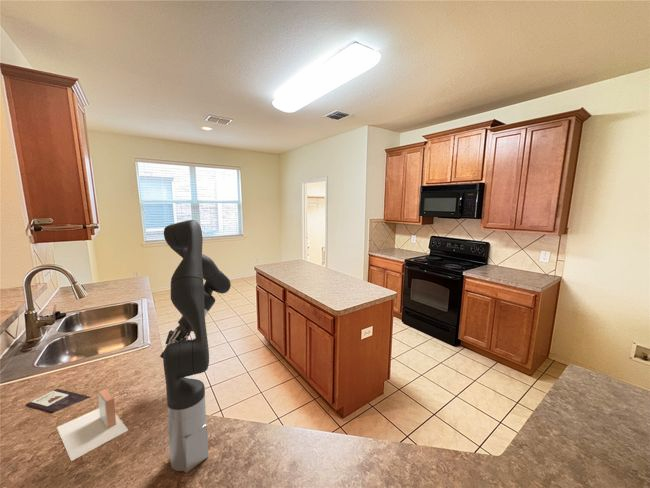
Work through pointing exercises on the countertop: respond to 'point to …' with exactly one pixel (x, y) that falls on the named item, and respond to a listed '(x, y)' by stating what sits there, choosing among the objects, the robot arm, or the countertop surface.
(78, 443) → the mat
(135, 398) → the countertop surface
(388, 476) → the countertop surface
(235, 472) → the countertop surface
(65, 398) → the chocolate bar
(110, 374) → the countertop surface
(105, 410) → the block
